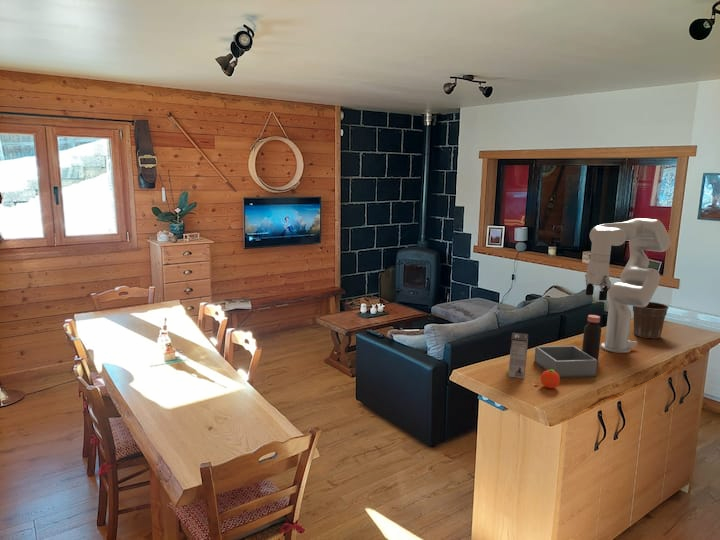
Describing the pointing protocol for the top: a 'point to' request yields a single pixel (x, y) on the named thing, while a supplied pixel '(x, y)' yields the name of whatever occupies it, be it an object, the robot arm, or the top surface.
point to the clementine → (550, 378)
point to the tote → (566, 361)
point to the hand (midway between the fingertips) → (595, 297)
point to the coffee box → (518, 355)
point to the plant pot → (649, 320)
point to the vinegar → (592, 336)
